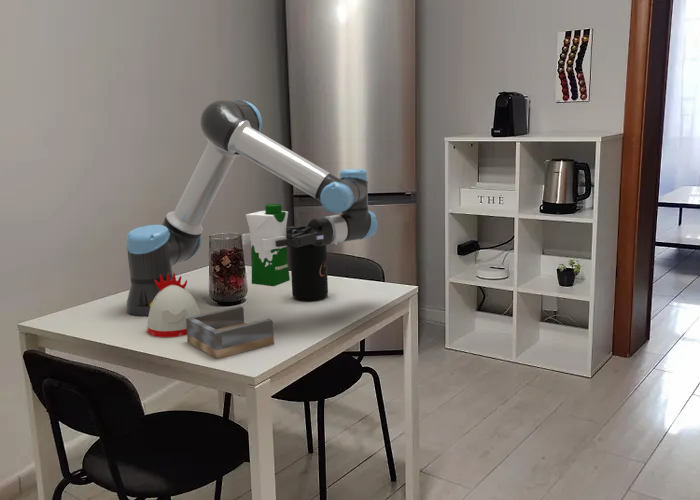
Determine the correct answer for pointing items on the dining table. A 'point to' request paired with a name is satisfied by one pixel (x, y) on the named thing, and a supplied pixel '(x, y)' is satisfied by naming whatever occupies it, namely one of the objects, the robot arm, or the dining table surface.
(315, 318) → the dining table surface
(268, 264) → the soya milk
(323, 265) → the coffee jar
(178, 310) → the kitchen timer
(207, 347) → the dock
